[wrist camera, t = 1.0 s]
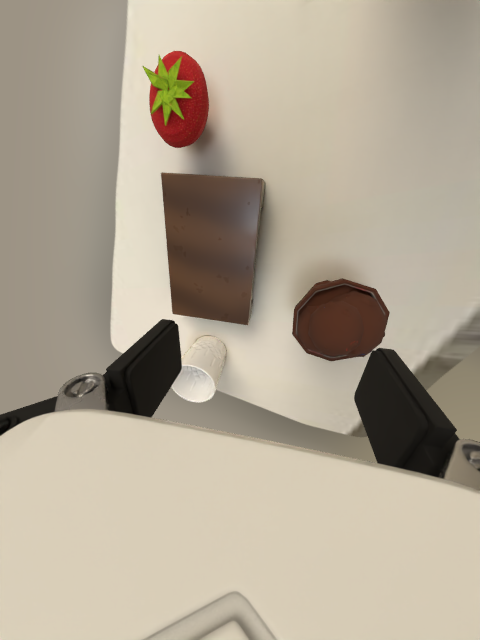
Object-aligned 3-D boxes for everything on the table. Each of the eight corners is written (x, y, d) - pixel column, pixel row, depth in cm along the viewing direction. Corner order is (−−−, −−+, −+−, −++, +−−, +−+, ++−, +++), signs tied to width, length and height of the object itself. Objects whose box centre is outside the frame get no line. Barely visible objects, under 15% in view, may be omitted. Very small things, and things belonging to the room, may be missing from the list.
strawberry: (168, 145, 29) (119, 117, 20) (185, 72, 26) (133, -1, 17) (208, 166, 29) (175, 147, 21) (229, 96, 26) (201, 37, 17)
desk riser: (174, 176, 31) (160, 172, 27) (265, 182, 29) (262, 178, 26) (182, 305, 40) (172, 314, 36) (251, 314, 38) (248, 325, 35)
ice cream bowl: (289, 326, 38) (291, 387, 25) (293, 262, 33) (299, 295, 20) (353, 329, 36) (394, 396, 23) (368, 261, 31) (430, 298, 18)
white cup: (205, 369, 46) (187, 407, 37) (184, 341, 44) (159, 374, 35) (236, 358, 43) (224, 395, 34) (215, 326, 41) (196, 358, 32)
